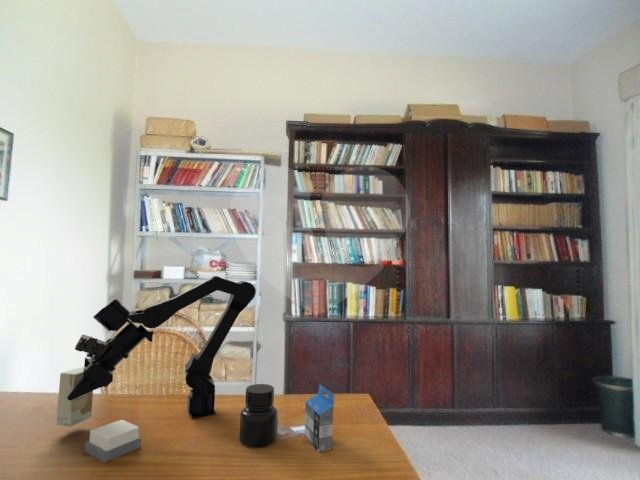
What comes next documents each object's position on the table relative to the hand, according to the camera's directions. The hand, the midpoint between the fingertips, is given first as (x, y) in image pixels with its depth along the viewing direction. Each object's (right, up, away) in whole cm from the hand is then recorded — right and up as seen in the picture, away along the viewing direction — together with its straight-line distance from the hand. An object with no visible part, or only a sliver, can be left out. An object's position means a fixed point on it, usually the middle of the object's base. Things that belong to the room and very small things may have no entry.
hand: (69, 394), depth 88 cm
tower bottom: (+15, -10, -8) cm, 19 cm away
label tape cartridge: (+61, -11, -2) cm, 62 cm away
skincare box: (+1, -7, 0) cm, 7 cm away
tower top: (+15, -7, -8) cm, 18 cm away
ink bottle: (+46, -11, -1) cm, 47 cm away
